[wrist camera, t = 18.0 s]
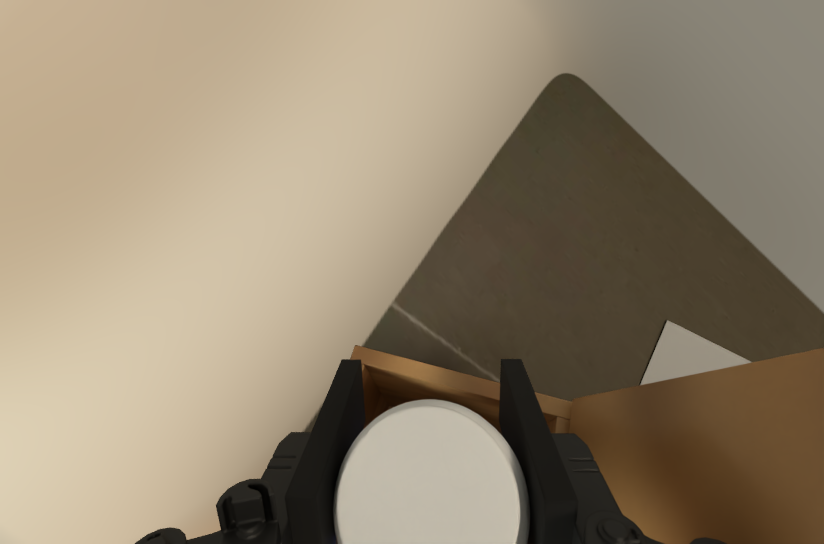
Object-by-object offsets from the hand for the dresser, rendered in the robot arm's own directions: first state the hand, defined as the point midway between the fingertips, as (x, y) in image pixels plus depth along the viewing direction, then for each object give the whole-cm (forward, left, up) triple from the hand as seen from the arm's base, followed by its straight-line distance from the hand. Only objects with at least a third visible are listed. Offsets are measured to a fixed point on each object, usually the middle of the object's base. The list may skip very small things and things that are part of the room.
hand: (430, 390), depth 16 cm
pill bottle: (-1, +4, -4) cm, 5 cm away
